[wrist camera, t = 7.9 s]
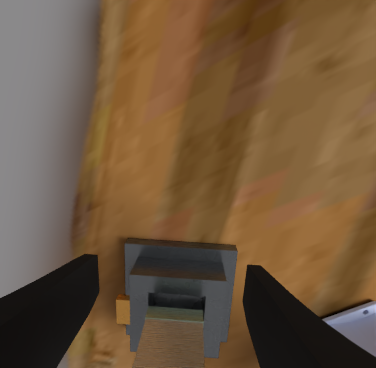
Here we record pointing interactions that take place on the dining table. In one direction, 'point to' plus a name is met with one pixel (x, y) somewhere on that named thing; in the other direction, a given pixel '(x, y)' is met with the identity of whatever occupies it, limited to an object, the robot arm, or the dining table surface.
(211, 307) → the stand base
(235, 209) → the dining table surface
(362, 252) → the dining table surface
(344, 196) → the dining table surface
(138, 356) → the post
